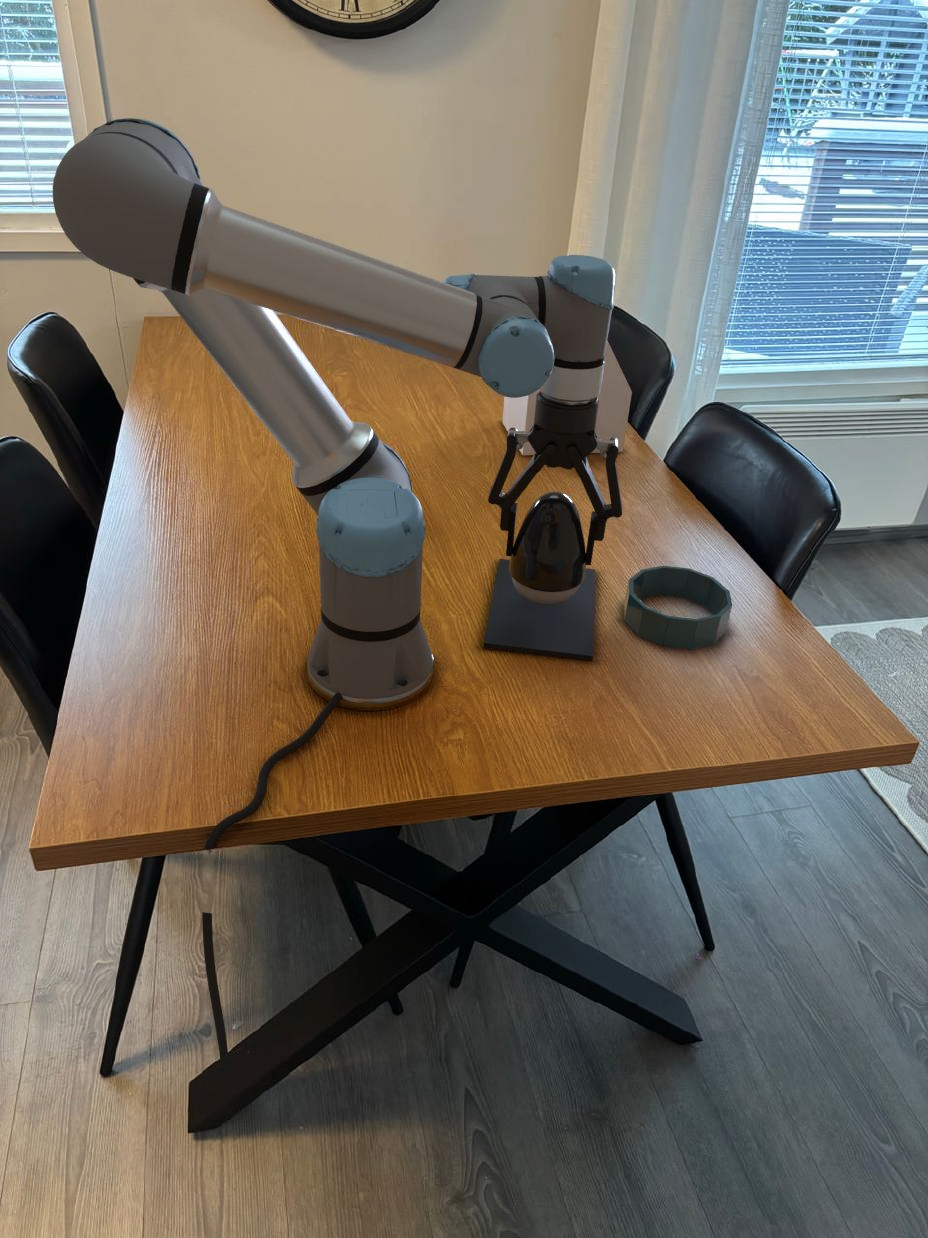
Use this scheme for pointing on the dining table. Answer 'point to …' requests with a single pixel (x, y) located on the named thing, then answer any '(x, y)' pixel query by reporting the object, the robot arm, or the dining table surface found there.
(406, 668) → the robot arm
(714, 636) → the teal ring
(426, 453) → the dining table surface
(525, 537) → the dark glossy rounded piece
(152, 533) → the dining table surface
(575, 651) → the rubber mat
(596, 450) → the white pentagonal block
